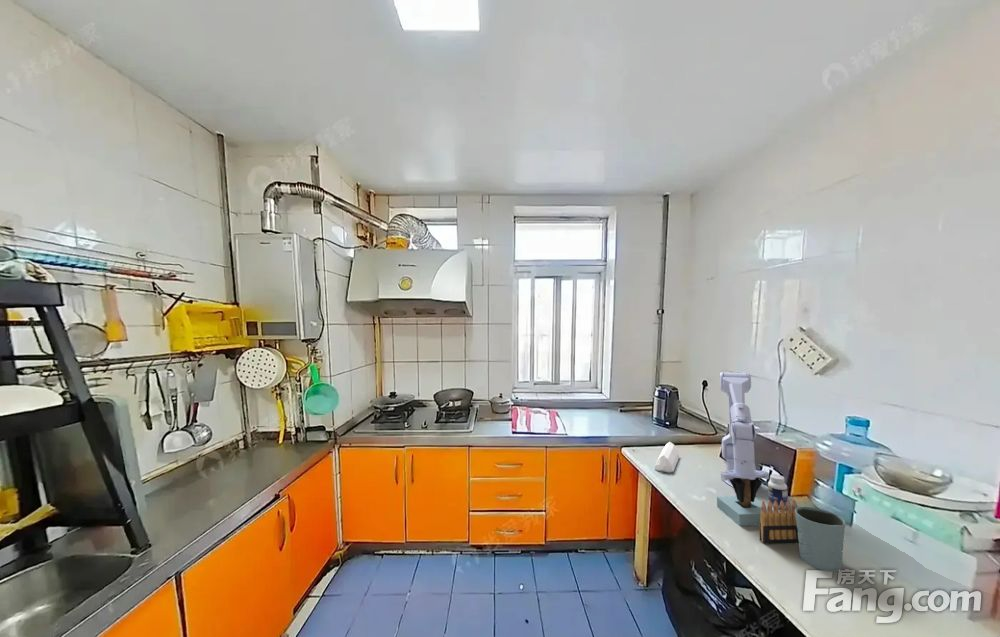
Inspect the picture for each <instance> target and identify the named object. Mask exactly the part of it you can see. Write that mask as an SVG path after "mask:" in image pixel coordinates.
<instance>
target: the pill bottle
mask: <svg viewBox="0 0 1000 637" xmlns="http://www.w3.org/2000/svg"><path fill="white" fill-rule="evenodd" d="M767 494H768V501H769V500H770V501H771V504H772V507H773V506H774V501H775V500H776V501H777V504H778V509H780V502H781V500H782V501H783V503H784V507H785V509H786V502H787V500H789V496H788V485H787V484H786V483H785V477H784V476H782V475H780V474H777V473H776V474H774V473H773V474H770V475H769V480H768V482H767ZM768 501H767V502H768Z"/></svg>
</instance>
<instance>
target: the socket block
mask: <svg viewBox="0 0 1000 637" xmlns="http://www.w3.org/2000/svg"><path fill="white" fill-rule="evenodd" d="M761 504H762V501H761V500H760V499H758V498H756V497H755V500H754V502H751V508H743V507H741V506H740V501H738V500H737V496H736V495H728V496H726V495H725V496H716V507H717V508H718V509H719V510H721V512H723V513H724V514H725V515H726V516H727V517H728V518H730V519H731V520H732V521H733V522H734V523H736V524H737V525H738V526H740V527H741V526H744V527H745V526H747V527H748V526H760V523H761ZM772 511H773V509H772ZM766 512H767V505H766Z"/></svg>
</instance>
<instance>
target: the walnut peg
mask: <svg viewBox="0 0 1000 637" xmlns="http://www.w3.org/2000/svg"><path fill="white" fill-rule="evenodd" d="M741 480H742V482H743V483H745V487H744V501H743V502H740V506H741V507H743V508H751V485H750V480H749V479H741Z"/></svg>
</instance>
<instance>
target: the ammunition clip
mask: <svg viewBox="0 0 1000 637" xmlns="http://www.w3.org/2000/svg"><path fill="white" fill-rule="evenodd" d="M761 502H762V504H761V523H760V525H759V541H760V542H761V543H762V544H764V545H789V544H793V545H795V544H798V545H799V540H798V528H797V523H796V516H795V509H796V508H798V504H797V501H796V499H793V501H792V504H791V503H790V500H789V499H788V500H787V502H786V508H785V507H784V503H783V501H782V500H781V502H780V508H778V504H777V501H776V500H775V501H774V506H772V504H771V501H770V500H769V501H767V505H766V503H765V500H762V501H761ZM766 506H767V512H766ZM772 510H773V511H772Z"/></svg>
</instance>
